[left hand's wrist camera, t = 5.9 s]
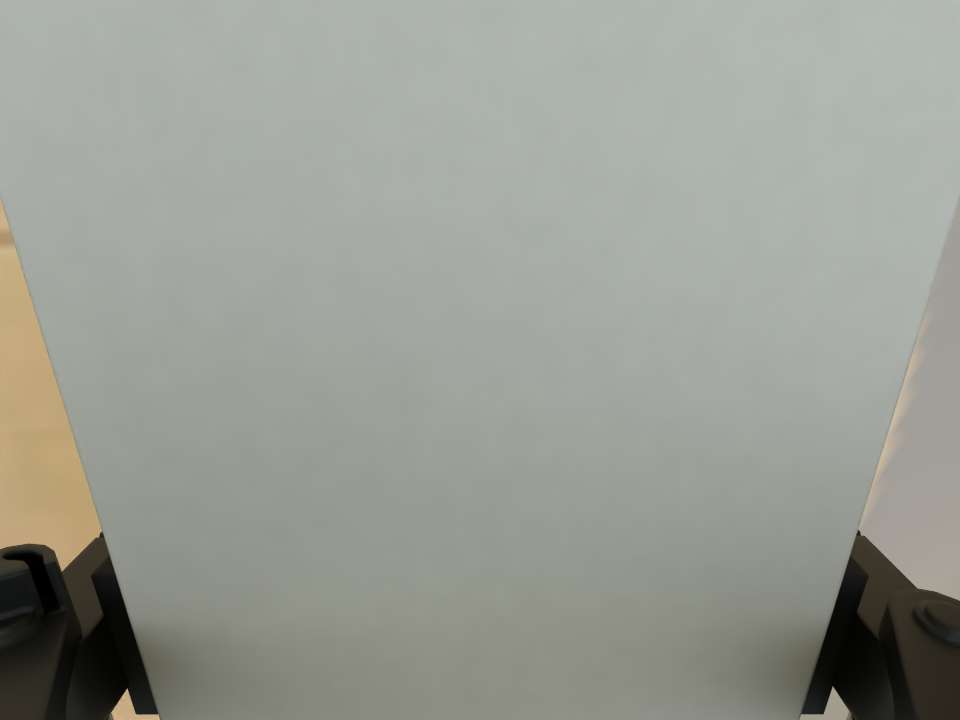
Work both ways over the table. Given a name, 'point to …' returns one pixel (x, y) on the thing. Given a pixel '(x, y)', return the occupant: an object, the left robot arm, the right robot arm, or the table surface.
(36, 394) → the table surface
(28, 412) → the table surface
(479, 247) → the grey long rectangular bar
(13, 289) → the table surface
